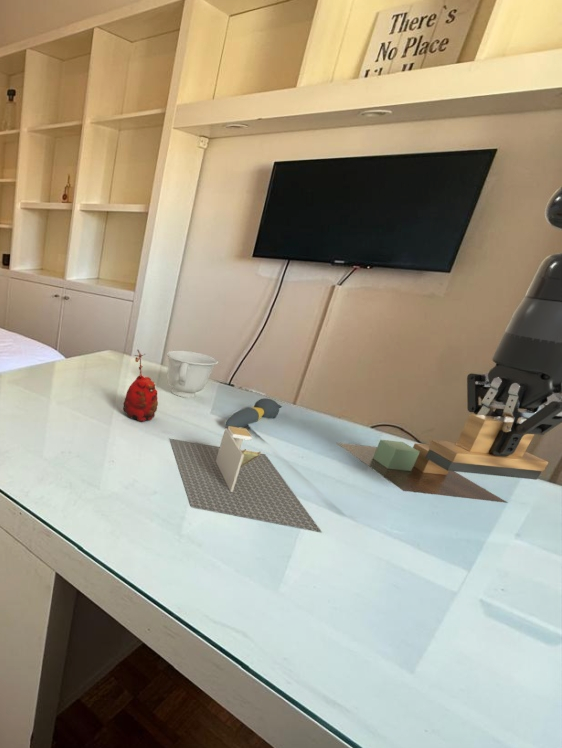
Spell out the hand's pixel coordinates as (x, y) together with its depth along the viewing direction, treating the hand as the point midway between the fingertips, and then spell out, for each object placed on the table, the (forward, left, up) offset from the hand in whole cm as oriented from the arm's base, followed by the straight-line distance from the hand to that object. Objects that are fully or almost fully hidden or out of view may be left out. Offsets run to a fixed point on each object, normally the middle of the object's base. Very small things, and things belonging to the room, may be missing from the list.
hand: (488, 449), depth 66 cm
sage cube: (-1, -15, -11) cm, 18 cm away
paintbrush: (+16, -32, -12) cm, 38 cm away
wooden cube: (-7, -15, -11) cm, 20 cm away
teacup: (+27, -47, -12) cm, 56 cm away
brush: (0, 0, -3) cm, 3 cm away
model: (+31, -5, -12) cm, 34 cm away
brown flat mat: (-4, -14, -12) cm, 19 cm away
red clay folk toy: (+42, -29, -12) cm, 53 cm away
